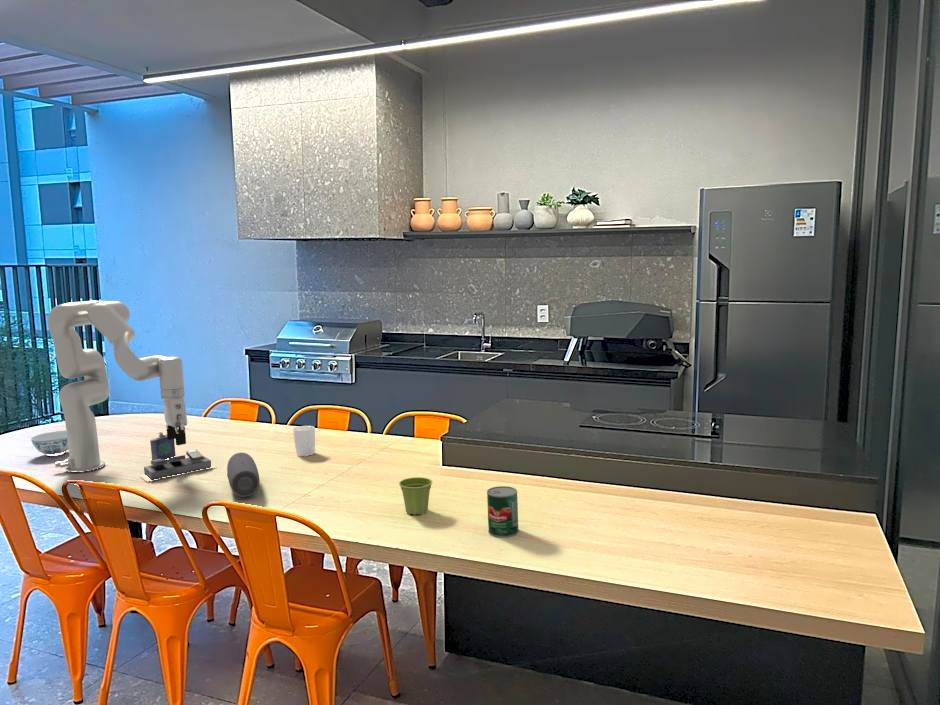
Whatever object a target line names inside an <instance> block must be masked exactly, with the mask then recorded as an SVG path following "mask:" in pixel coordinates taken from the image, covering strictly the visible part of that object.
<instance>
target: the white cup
mask: <svg viewBox="0 0 940 705" xmlns="http://www.w3.org/2000/svg"><path fill="white" fill-rule="evenodd" d="M292 431H293V432H292V433H293V440H294V441H293V442H294V446H295V453H296V454H297V455H298V456H297V455H296V456H297V457H302V456H304V457H305V456H306V457H309V456H308V455H311V456H314V455H315V454H316V428H315V426H314V425H301V426H300V425H299V426H295V427H293V428H292ZM314 453H315V454H314ZM313 454H314V455H313Z"/></svg>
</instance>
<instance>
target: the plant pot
mask: <svg viewBox="0 0 940 705" xmlns="http://www.w3.org/2000/svg"><path fill="white" fill-rule="evenodd" d="M398 485H399V487H400V489H401V492H402V497H403V500H404V502H403V503H404V509H405V512H407V513H406V514H407V515H410V514H413V515H412V516H414V515H419V514H421V515H424V514H427V512H428V510H429V500H430V499H429V498H430V491H431V488H432V485H433V480H432V479H431V478H427V477H419V476H418V477H417V476H416V477H408V478H404V479H402V480H400V481H399V482H398ZM423 513H424V514H423Z"/></svg>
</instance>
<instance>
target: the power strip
mask: <svg viewBox="0 0 940 705" xmlns="http://www.w3.org/2000/svg"><path fill="white" fill-rule="evenodd" d="M167 462H168V463H167V464H162V465H157V466H156V465H148V466H143V472H144V473H143V474H145V475H147V476H148V477H149V478H150V479H151V480H154V479H159V478H162V477H167V476H172V475H177V474H182V473H187V472H191V471H196V470H200V469H206V468H210V467H211V464H212V460H211V459H210V458H208V457H206V456H204V455H203V459H202V460H197V461H192V460H191V459H190V458H189V457H187V458H186V457H185V459H182V460H177V461H172V462H169V461H167Z"/></svg>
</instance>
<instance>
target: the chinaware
mask: <svg viewBox="0 0 940 705" xmlns="http://www.w3.org/2000/svg"><path fill="white" fill-rule="evenodd" d="M30 441H31V443H32V445H33V447H34V448H35V449H36V450H37V451H38V452H39V453H41V454H44V455H46V454H55V453H61V452H64V451H65V452H67V451H69V448H68V440H67V431H66V430H57V431H50V432H44V433H40V434H37V435H34V436H32V437H31V438H30Z"/></svg>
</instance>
